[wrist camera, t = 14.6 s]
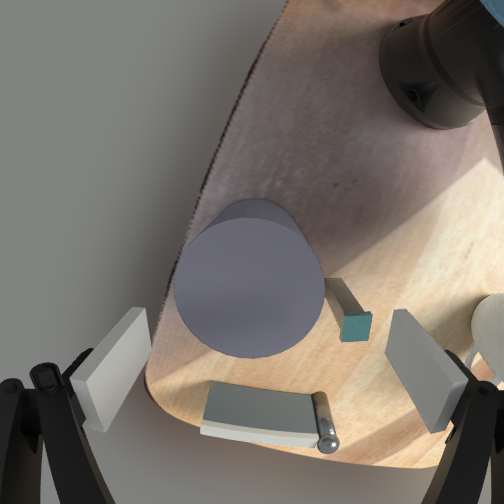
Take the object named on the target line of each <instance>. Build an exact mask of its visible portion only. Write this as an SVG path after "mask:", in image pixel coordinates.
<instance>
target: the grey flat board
mask: <svg viewBox="0 0 504 504" xmlns="http://www.w3.org/2000/svg"><path fill="white" fill-rule="evenodd" d="M200 434H203V435H209V436H214V437H220V438H225V439H232V440H239V441H245V442H253V443H261V444H270V445H281V446H293V447H310V448H315V446H316V444H317V442H318V440H319V436H318V433H317V427H316V422H315V416H314V411H313V405H312V400H311V395H307V394H297V393H288V392H279V391H271V390H264V389H257V388H250V387H244V386H238V385H232V384H226V383H221V382H215V381H212V382H211V386H210V391H209V395H208V399H207V403H206V407H205V411H204V415H203V419H202V423H201V430H200Z"/></svg>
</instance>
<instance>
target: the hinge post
mask: <svg viewBox="0 0 504 504" xmlns="http://www.w3.org/2000/svg"><path fill="white" fill-rule="evenodd" d="M311 400H312V405H313V411H314V416H315V422H316V427H317V433H318V436H319V440H318V442H317V448H318V450H319V451H320V452H321V453H324V454H331V453H334V452H335V451H336V450H337V449H338V447H339V444H340V442H339V439H338V437H337V436H336V432H335V427H334V423H333V419H332V415H331V411H330V407H329V403H328V399H327V395H326V393H324V392H316V393H314V394H313V395H312V396H311Z"/></svg>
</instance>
